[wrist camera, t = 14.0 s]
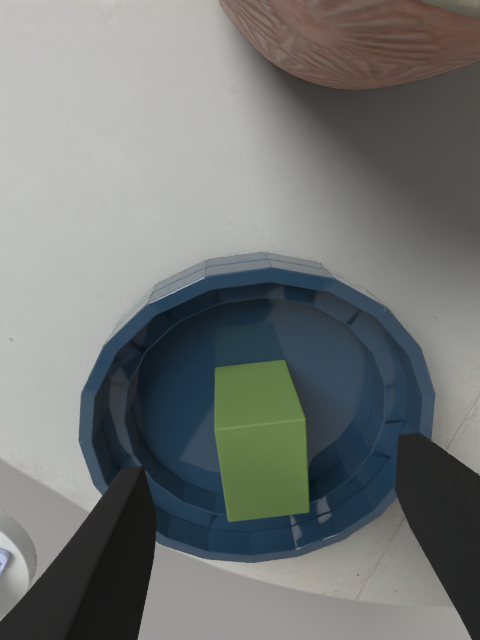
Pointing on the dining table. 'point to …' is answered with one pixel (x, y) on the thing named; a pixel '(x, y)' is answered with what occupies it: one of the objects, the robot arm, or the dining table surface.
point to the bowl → (242, 348)
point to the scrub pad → (260, 441)
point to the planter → (361, 38)
